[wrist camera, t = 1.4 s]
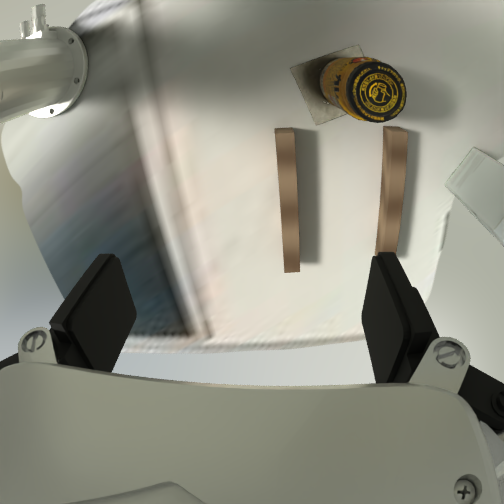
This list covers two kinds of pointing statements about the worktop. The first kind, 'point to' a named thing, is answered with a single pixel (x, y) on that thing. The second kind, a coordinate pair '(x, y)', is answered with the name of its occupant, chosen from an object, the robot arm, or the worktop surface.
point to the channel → (389, 197)
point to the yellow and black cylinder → (350, 87)
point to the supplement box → (481, 190)
